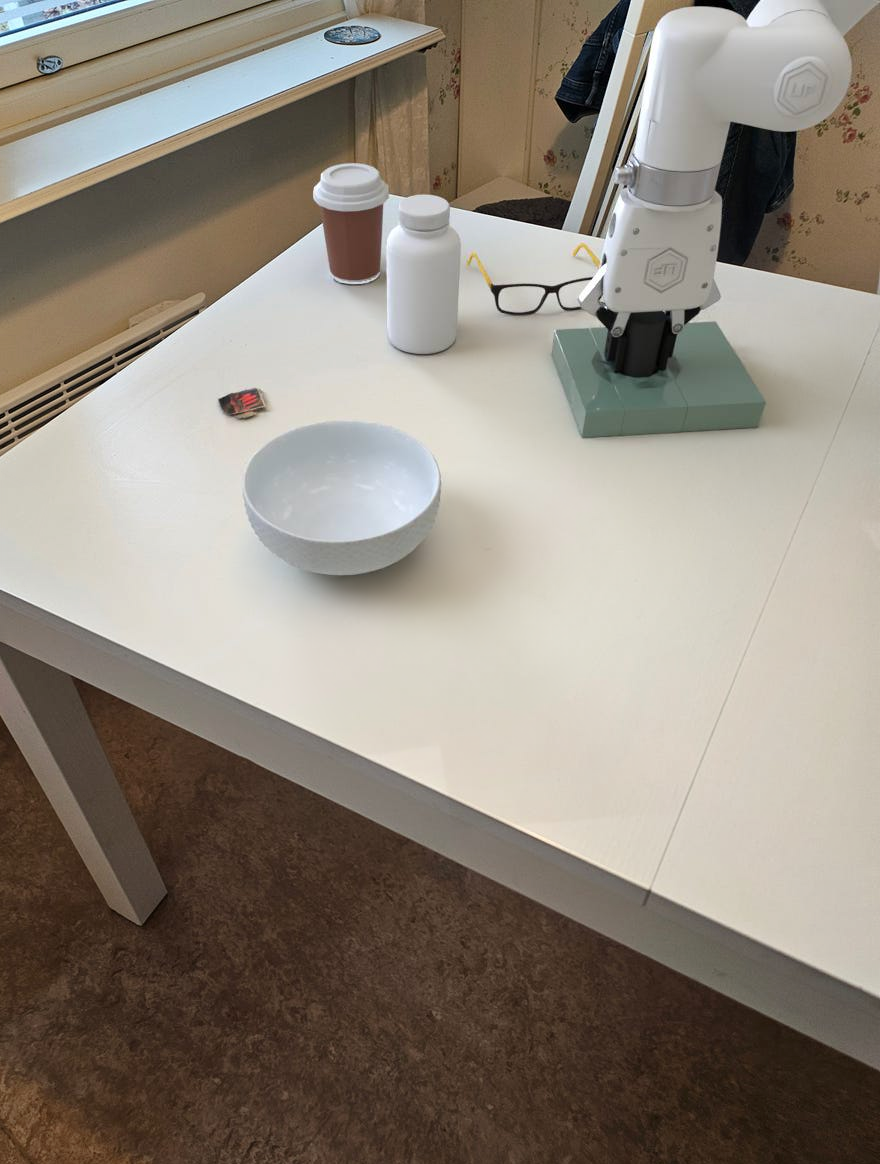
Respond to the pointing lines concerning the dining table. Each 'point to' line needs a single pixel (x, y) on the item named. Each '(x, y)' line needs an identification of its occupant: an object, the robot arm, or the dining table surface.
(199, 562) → the dining table surface
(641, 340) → the stopper
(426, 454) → the cereal bowl
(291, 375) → the dining table surface
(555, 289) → the eyeglasses
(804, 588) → the dining table surface
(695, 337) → the plate
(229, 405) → the matchbox
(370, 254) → the coffee cup
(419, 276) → the pill bottle
